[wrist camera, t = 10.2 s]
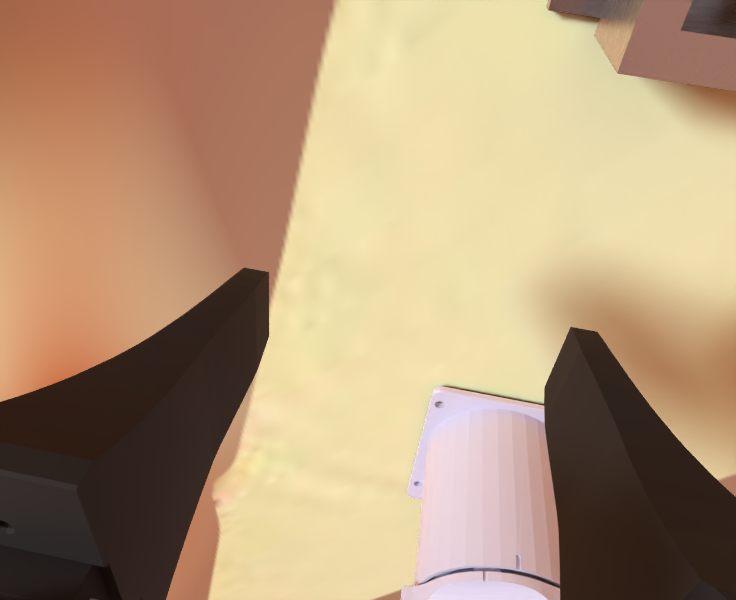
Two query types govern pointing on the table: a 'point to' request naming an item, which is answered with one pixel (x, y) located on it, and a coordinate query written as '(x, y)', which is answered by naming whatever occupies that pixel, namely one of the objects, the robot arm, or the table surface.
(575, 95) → the table surface
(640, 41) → the hollow rectangular frame
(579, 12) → the keeper
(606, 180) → the table surface
